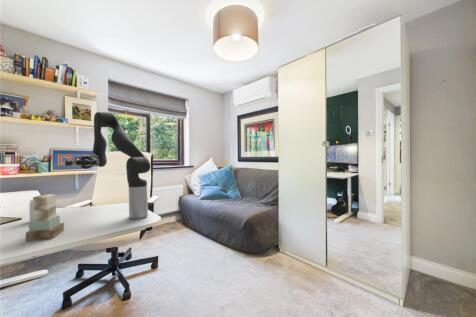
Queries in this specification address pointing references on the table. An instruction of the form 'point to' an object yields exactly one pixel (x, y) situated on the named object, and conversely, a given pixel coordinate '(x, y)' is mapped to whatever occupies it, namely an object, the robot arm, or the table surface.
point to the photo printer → (31, 210)
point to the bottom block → (44, 233)
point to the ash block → (44, 207)
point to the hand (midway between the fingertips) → (77, 163)
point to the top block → (44, 224)
